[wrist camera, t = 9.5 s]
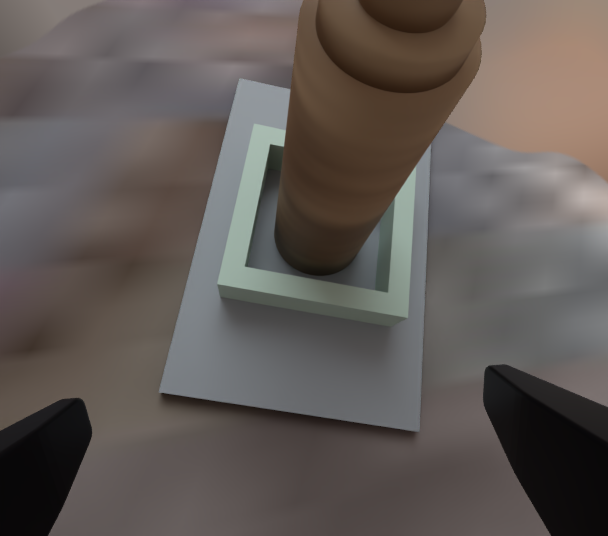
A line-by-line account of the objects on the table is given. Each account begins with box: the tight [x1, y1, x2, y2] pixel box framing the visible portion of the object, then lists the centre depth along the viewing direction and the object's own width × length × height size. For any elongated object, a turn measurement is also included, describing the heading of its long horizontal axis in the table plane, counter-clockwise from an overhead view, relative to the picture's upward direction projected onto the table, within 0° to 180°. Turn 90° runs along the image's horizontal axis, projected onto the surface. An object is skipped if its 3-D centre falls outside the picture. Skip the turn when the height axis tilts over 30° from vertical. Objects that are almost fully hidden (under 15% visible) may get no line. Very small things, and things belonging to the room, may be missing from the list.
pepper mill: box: [274, 0, 486, 276], centre depth 14 cm, size 5×5×14 cm
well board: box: [159, 78, 431, 432], centre depth 20 cm, size 18×12×3 cm, turn 172°
